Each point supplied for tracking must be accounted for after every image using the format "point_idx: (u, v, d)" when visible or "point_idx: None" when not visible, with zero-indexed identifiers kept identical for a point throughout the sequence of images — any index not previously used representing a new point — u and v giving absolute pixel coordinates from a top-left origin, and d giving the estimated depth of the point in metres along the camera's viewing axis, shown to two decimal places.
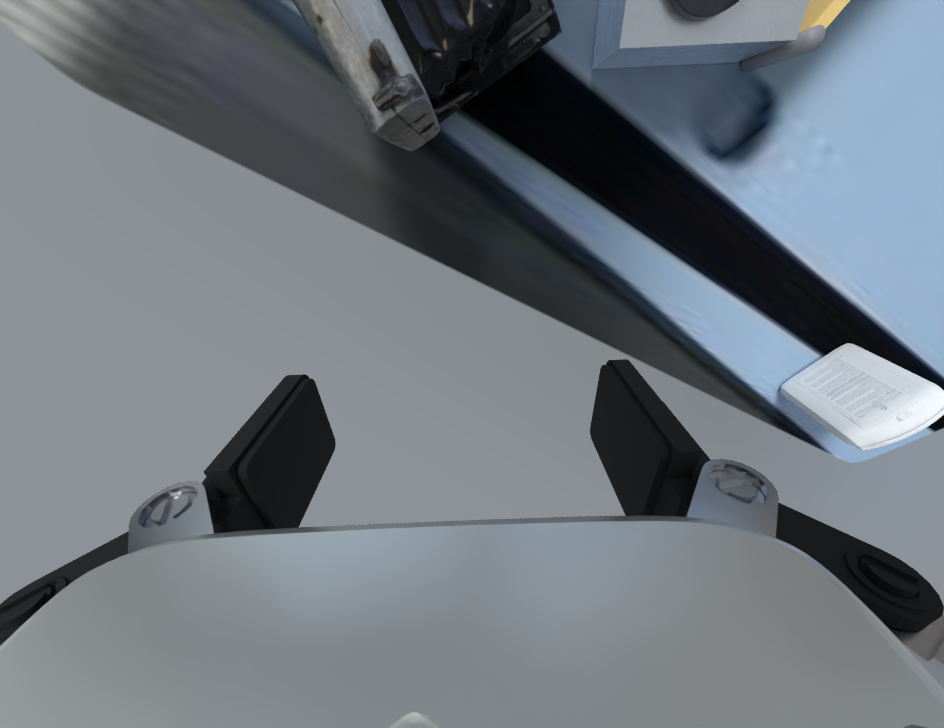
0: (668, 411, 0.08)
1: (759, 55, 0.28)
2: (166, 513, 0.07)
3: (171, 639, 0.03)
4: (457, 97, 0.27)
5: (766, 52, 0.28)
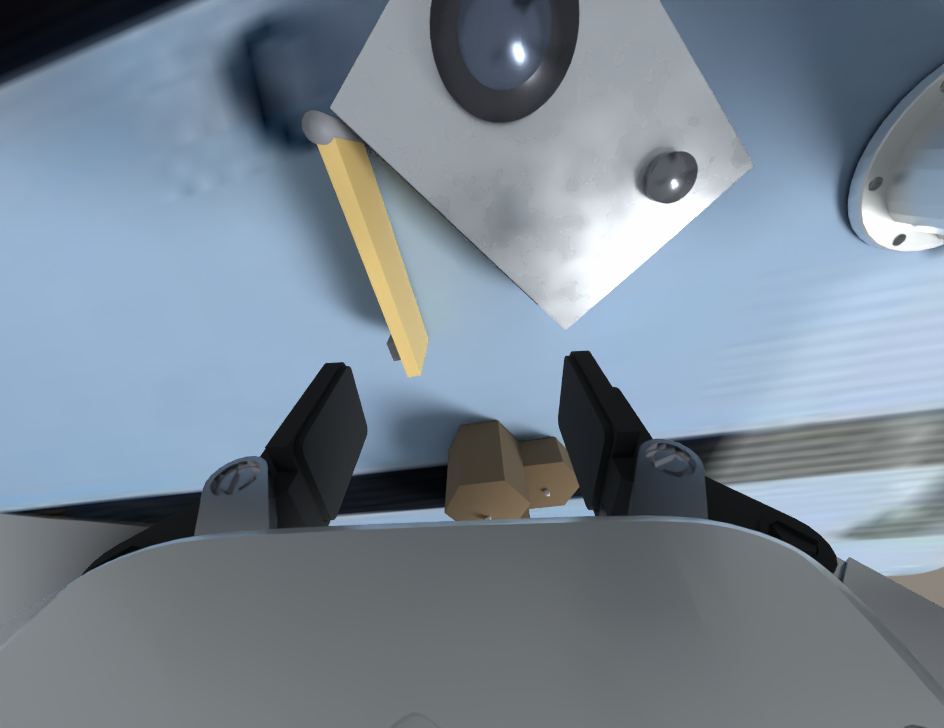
0: (617, 396, 0.09)
1: None
2: (234, 484, 0.07)
3: (171, 639, 0.03)
4: None
5: None
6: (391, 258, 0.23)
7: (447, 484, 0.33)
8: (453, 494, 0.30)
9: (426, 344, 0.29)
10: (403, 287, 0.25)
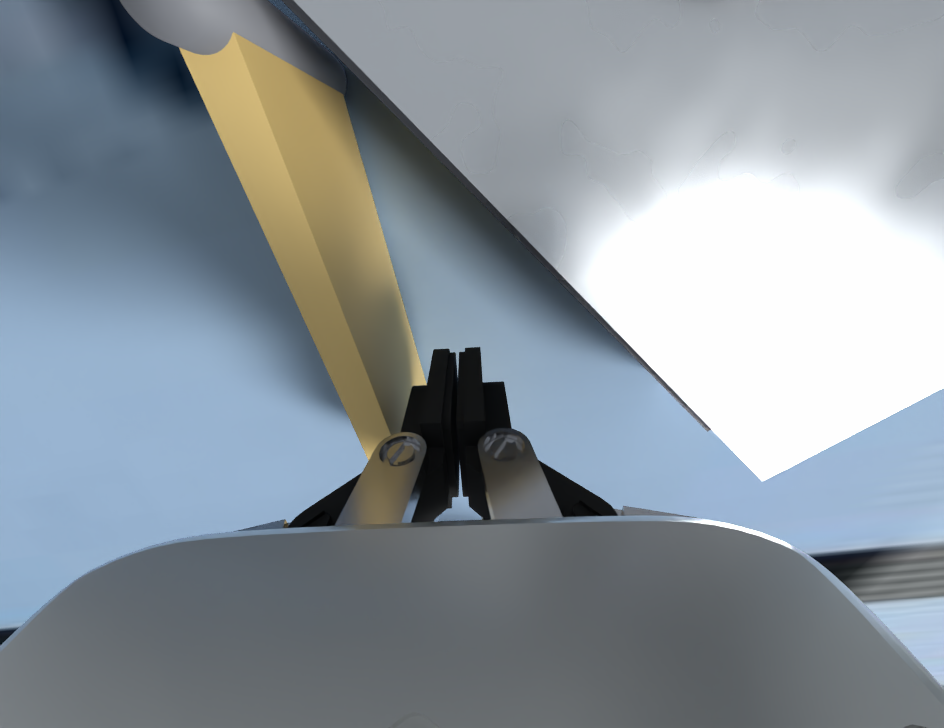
0: (481, 389, 0.09)
1: None
2: (397, 457, 0.08)
3: (171, 639, 0.03)
4: None
5: None
6: (389, 333, 0.12)
7: None
8: None
9: None
10: (409, 380, 0.13)
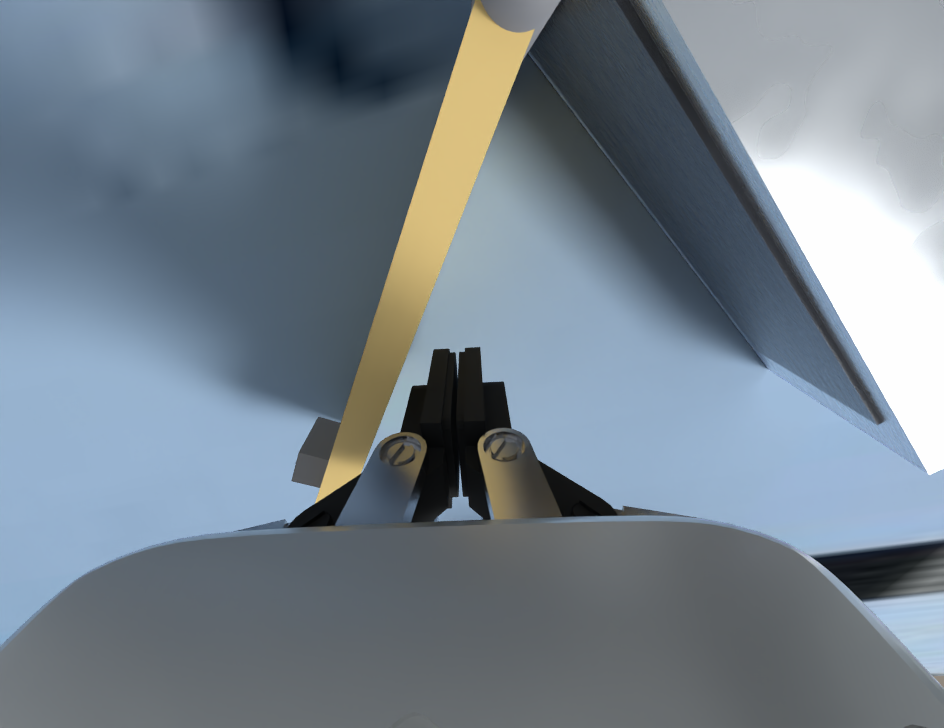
0: (481, 389, 0.09)
1: None
2: (397, 457, 0.08)
3: (171, 639, 0.03)
4: None
5: None
6: None
7: None
8: None
9: None
10: None
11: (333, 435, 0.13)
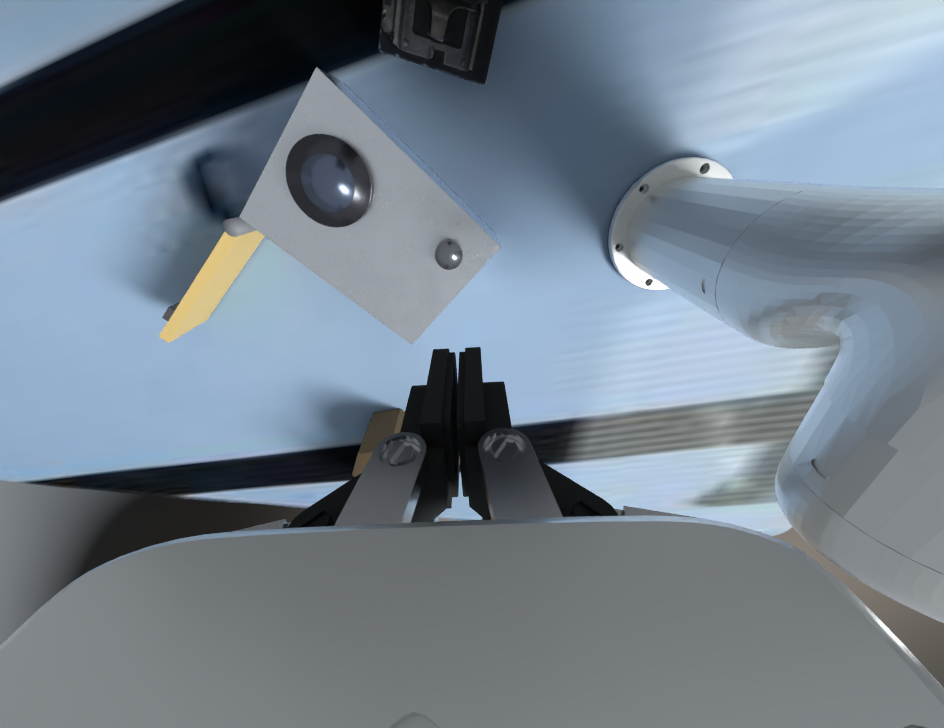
0: (481, 389, 0.09)
1: None
2: (397, 457, 0.08)
3: (171, 639, 0.03)
4: None
5: None
6: (222, 281, 0.34)
7: None
8: None
9: (199, 323, 0.38)
10: (215, 294, 0.35)
11: None
